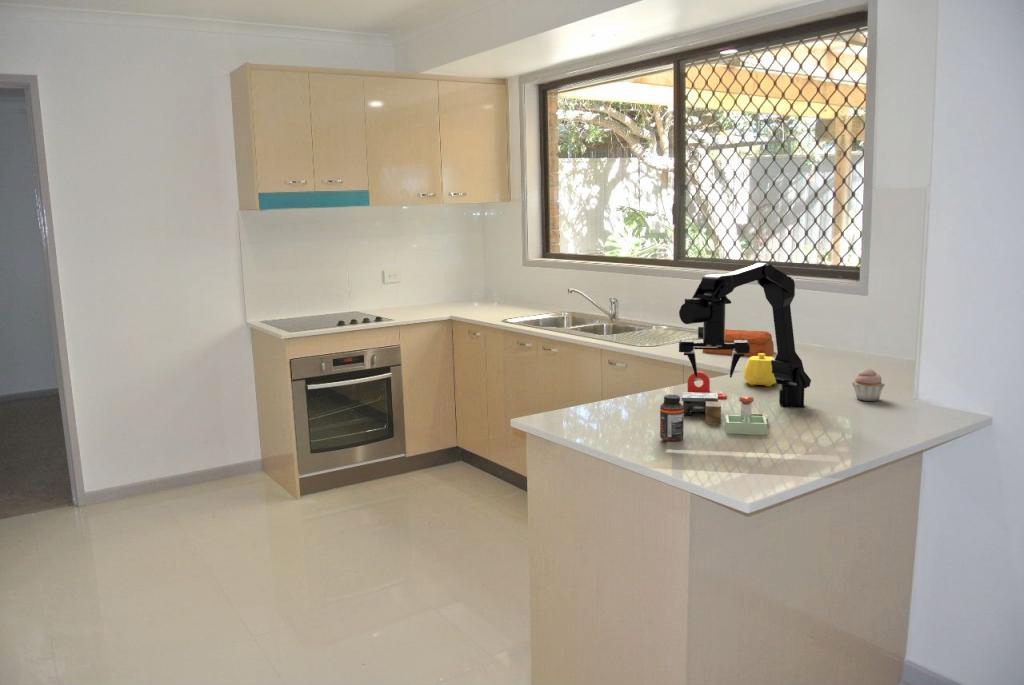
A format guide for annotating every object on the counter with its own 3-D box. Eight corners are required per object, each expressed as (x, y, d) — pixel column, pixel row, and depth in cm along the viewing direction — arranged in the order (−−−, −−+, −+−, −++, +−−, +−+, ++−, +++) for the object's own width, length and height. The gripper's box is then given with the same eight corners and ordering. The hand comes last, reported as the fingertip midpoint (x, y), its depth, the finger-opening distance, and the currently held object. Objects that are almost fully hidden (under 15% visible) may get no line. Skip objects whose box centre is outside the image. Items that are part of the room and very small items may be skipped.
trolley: (718, 411, 236) (719, 393, 236) (719, 417, 229) (719, 399, 228) (680, 410, 239) (680, 392, 238) (679, 416, 231) (679, 397, 231)
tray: (764, 426, 218) (764, 416, 218) (767, 434, 210) (767, 423, 210) (725, 425, 220) (725, 414, 220) (726, 433, 212) (726, 422, 212)
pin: (752, 426, 216) (753, 396, 215) (753, 430, 213) (753, 399, 212) (738, 426, 217) (739, 396, 216) (739, 429, 214) (739, 399, 213)
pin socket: (766, 420, 224) (766, 413, 224) (767, 426, 219) (768, 418, 218) (743, 419, 226) (743, 412, 225) (744, 425, 220) (744, 418, 220)
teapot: (776, 392, 259) (776, 359, 258) (740, 390, 263) (741, 357, 262) (780, 381, 276) (780, 350, 274) (746, 379, 280) (747, 349, 278)
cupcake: (870, 394, 253) (871, 363, 251) (891, 401, 244) (892, 368, 242) (844, 396, 250) (845, 365, 249) (864, 403, 242) (865, 370, 240)
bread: (766, 362, 312) (767, 335, 310) (699, 357, 326) (699, 331, 324) (776, 355, 325) (777, 329, 323) (711, 351, 339) (711, 326, 337)
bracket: (686, 398, 254) (687, 373, 253) (687, 395, 258) (687, 371, 257) (726, 400, 251) (726, 375, 249) (726, 396, 255) (726, 372, 254)
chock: (720, 419, 228) (720, 401, 227) (720, 424, 222) (721, 406, 221) (705, 418, 229) (705, 401, 228) (705, 423, 223) (705, 406, 222)
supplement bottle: (657, 436, 212) (657, 393, 210) (679, 435, 212) (679, 392, 210) (663, 442, 206) (663, 399, 204) (686, 441, 206) (686, 398, 204)
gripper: (748, 317, 227) (746, 372, 229) (680, 317, 231) (679, 370, 233) (750, 322, 216) (749, 380, 218) (679, 322, 220) (678, 378, 223)
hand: (713, 377), depth 224 cm, fingers open, 9 cm apart
